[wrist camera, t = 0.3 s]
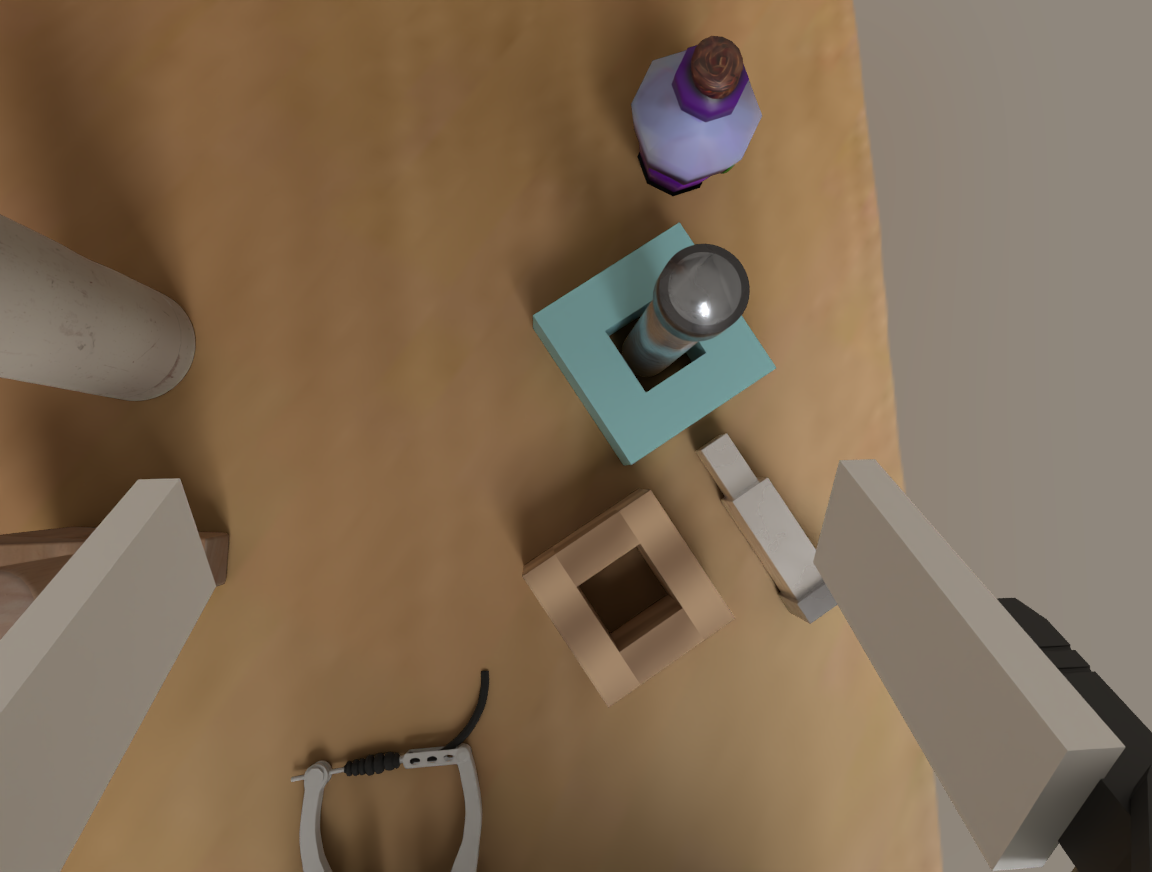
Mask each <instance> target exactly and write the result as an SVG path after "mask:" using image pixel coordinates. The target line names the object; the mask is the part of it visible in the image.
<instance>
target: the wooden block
mask: <svg viewBox="0 0 1152 872" xmlns="http://www.w3.org/2000/svg"><path fill="white" fill-rule="evenodd" d="M95 529H96V528H93V527H66V528H57V529H48V530H39V531H30V532H21V533H12V534H3V535H0V640H1V639H2V637H3V636H4V635H5V634H6V633H7V632H8V630H9V629H10V628H11V627H12V626H13V625H14V624H15V622H16V621H17V620H18V619H19V618H20V617H21V615H22V614H23V613H24V612H25V611H26V610H27V608H28V607H29V606H30V605H31V604H32V603H33V601H34V600H35V599H36V598H37V597H38V596H39V594H40V593H41V592H42V591H43V590H44V589H45V587H46V586H47V585H48V584H49V583H50V582H51V580H52V579H53V578H54V577H55V576H56V575H57V573H58V572H59V571H60V570H61V569H62V568H63V566H64V565H65V564H66V563H67V562H68V561H69V559H70V558H71V557H72V556H73V555H74V554H75V552H76V551H77V550H78V549H79V548H80V547H81V545H82V544H83V543H84V542H85V541H86V540H87V539H88V537H89V536H90V535H91V534H92V533H93V532H94V530H95ZM198 533H199V536H200V539H201V542H202V545H203V548H204V551H205V554H206V557H207V560H208V563H209V566H210V569H211V572H212V575H213V578H214V581H215V584H216V586H219V585H222V584H224V583H225V581H226V571H227V558H228V545H229V535H228V534H227V533H221V532H198Z"/></svg>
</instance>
